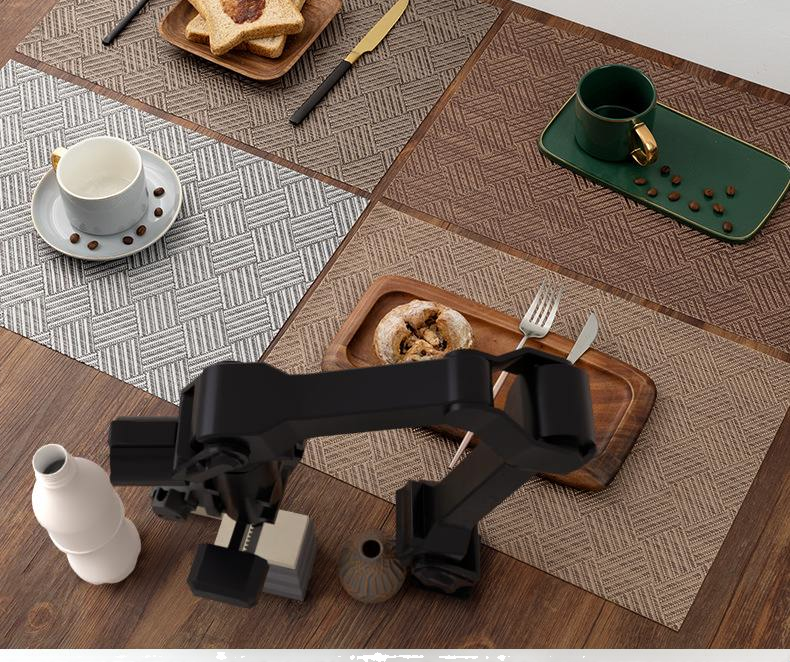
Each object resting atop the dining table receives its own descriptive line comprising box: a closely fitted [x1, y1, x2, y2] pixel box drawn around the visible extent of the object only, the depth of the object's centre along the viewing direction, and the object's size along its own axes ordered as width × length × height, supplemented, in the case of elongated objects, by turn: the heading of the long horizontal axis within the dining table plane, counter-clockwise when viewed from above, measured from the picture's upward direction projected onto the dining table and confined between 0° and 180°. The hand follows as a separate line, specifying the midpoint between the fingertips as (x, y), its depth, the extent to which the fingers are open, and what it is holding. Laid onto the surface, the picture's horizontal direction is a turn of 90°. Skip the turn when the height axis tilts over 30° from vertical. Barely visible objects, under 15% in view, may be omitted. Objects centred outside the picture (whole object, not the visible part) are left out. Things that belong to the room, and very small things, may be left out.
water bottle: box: [31, 443, 142, 586], centre depth 107 cm, size 7×7×25 cm
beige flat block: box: [213, 508, 310, 569], centre depth 109 cm, size 8×5×1 cm, turn 77°
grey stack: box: [262, 517, 319, 602], centre depth 113 cm, size 8×6×9 cm, turn 77°
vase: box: [337, 528, 408, 604], centre depth 113 cm, size 7×7×9 cm
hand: (262, 530), depth 108 cm, fingers open, 9 cm apart
